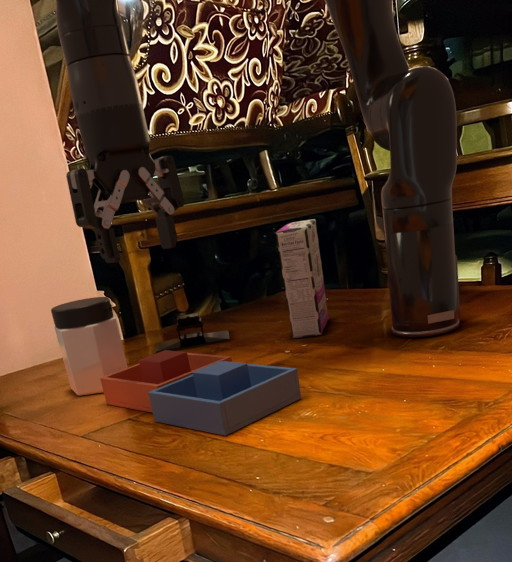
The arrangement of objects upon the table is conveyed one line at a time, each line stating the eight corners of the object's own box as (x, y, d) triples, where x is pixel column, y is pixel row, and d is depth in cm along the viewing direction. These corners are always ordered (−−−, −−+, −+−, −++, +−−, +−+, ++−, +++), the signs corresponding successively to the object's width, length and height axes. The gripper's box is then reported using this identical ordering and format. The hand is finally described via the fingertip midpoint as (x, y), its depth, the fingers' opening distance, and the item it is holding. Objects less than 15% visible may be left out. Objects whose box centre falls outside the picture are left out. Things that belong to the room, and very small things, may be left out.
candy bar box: (300, 323, 118) (286, 223, 112) (329, 319, 117) (317, 218, 110) (290, 339, 108) (274, 230, 102) (322, 335, 107) (307, 225, 100)
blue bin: (229, 388, 88) (224, 361, 87) (301, 398, 80) (297, 368, 78) (154, 421, 80) (147, 392, 79) (225, 436, 72) (219, 403, 71)
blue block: (227, 396, 83) (220, 360, 81) (253, 400, 80) (247, 363, 78) (199, 409, 80) (191, 372, 78) (225, 413, 77) (218, 375, 75)
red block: (172, 382, 93) (165, 350, 91) (193, 385, 90) (187, 351, 88) (145, 393, 90) (138, 359, 88) (167, 396, 87) (159, 362, 85)
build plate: (155, 354, 114) (149, 326, 112) (158, 345, 121) (152, 318, 119) (229, 340, 114) (224, 312, 112) (228, 331, 121) (223, 305, 119)
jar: (136, 384, 98) (117, 299, 93) (80, 399, 95) (57, 313, 90) (120, 373, 105) (101, 294, 101) (67, 387, 102) (45, 306, 98)
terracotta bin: (177, 376, 98) (172, 351, 97) (236, 383, 90) (231, 356, 88) (106, 404, 91) (99, 377, 89) (163, 414, 82) (157, 386, 81)
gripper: (72, 105, 71) (111, 266, 77) (177, 96, 79) (205, 241, 85) (36, 119, 76) (76, 269, 82) (139, 109, 85) (168, 245, 91)
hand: (142, 255), depth 84 cm, fingers open, 8 cm apart
